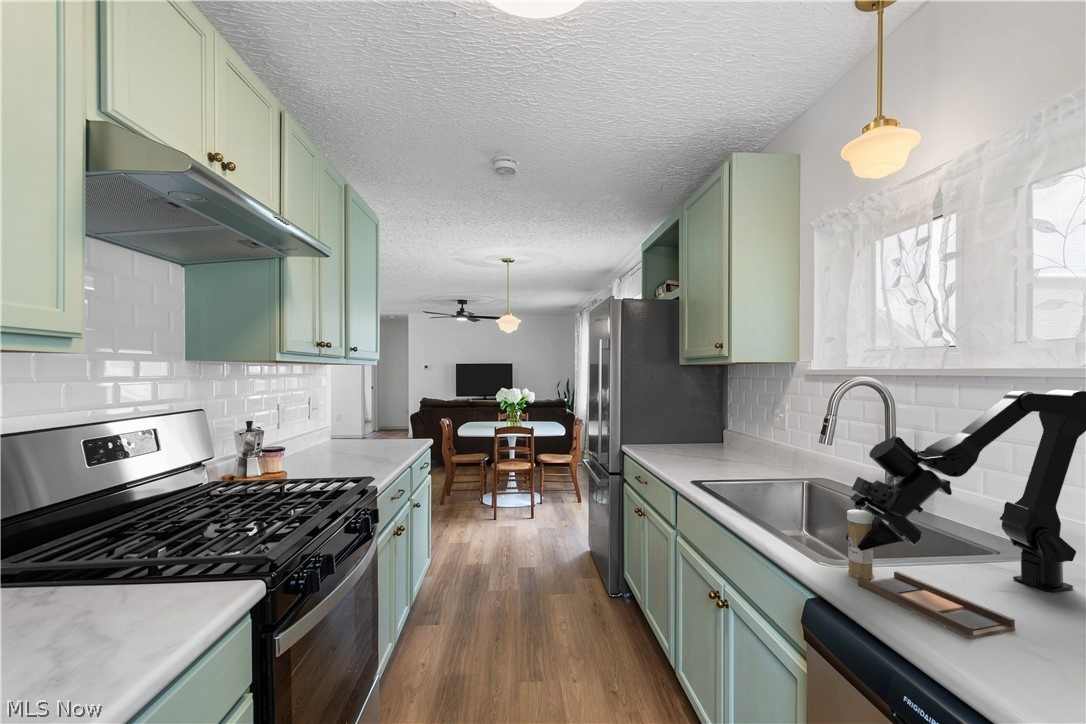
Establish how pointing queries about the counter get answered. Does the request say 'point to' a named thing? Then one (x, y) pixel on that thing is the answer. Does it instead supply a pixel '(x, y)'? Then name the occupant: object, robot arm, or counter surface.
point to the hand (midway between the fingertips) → (853, 544)
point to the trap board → (939, 606)
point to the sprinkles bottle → (857, 531)
